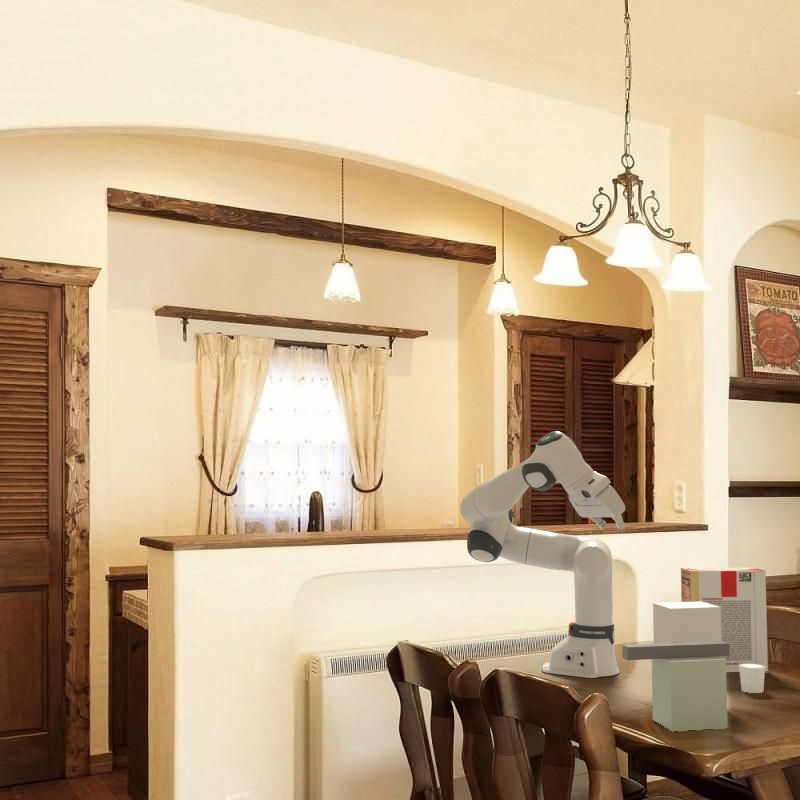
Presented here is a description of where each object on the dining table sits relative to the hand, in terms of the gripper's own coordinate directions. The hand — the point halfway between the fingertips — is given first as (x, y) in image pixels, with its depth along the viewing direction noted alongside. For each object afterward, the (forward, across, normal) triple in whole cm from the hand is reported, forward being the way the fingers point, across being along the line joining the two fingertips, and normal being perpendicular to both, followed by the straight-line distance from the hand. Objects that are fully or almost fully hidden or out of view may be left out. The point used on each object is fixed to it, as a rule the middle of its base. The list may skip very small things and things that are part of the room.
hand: (613, 527), depth 250 cm
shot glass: (+62, -4, +6) cm, 62 cm away
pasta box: (+66, -29, +15) cm, 74 cm away
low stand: (+41, +20, -23) cm, 51 cm away
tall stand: (+48, +1, -12) cm, 49 cm away
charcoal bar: (+26, +20, -16) cm, 37 cm away
